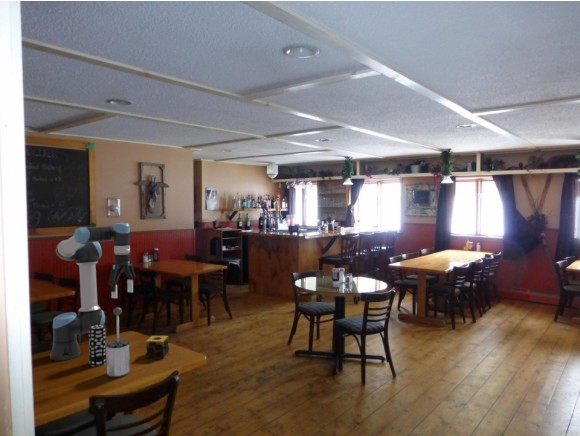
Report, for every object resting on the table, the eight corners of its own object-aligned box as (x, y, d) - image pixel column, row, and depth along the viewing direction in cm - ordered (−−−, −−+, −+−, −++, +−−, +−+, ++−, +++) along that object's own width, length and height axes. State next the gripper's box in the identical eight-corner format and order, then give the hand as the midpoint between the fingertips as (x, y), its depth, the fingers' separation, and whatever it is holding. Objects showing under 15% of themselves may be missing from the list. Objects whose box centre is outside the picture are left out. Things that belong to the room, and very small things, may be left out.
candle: (163, 359, 233) (163, 341, 233) (145, 359, 233) (145, 341, 233) (169, 352, 243) (169, 335, 243) (151, 352, 244) (151, 335, 243)
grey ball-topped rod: (106, 357, 210) (106, 308, 209) (116, 351, 218) (115, 305, 217) (120, 358, 209) (119, 309, 207) (129, 353, 216) (128, 306, 215)
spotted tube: (99, 367, 222) (99, 329, 221) (85, 365, 223) (85, 328, 223) (109, 361, 230) (109, 325, 229) (96, 359, 232) (95, 324, 231)
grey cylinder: (102, 376, 210) (102, 345, 209) (119, 366, 223) (118, 336, 222) (121, 379, 207) (120, 347, 207) (136, 368, 220) (136, 338, 219)
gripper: (113, 257, 201) (114, 301, 202) (142, 250, 225) (142, 290, 226) (99, 256, 203) (100, 300, 204) (129, 250, 227) (130, 289, 228)
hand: (122, 295), depth 215 cm, fingers open, 13 cm apart
